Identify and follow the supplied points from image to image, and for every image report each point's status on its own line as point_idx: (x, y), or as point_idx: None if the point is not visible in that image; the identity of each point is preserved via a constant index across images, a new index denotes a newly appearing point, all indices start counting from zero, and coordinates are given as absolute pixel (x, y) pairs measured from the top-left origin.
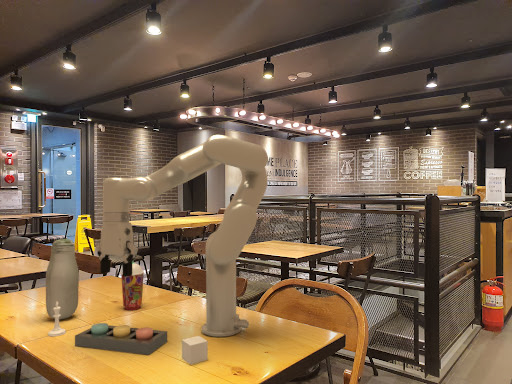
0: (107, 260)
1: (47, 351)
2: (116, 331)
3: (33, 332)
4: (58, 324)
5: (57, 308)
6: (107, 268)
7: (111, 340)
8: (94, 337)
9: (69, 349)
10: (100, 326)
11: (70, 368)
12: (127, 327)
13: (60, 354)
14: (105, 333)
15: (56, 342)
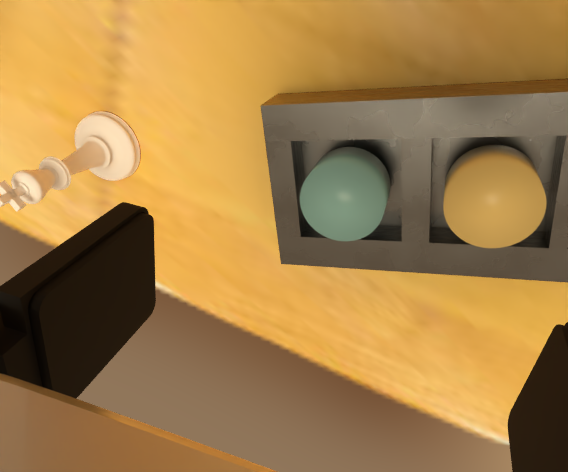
0: (46, 347)
1: (242, 296)
2: (487, 246)
3: (26, 161)
4: (92, 160)
5: (38, 197)
6: (124, 273)
7: (488, 275)
8: (384, 267)
9: (300, 270)
10: (354, 214)
11: (431, 391)
12: (527, 193)
13: (307, 310)
14: (388, 197)
15: (196, 224)
